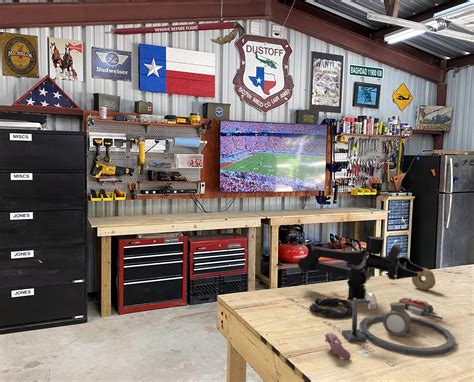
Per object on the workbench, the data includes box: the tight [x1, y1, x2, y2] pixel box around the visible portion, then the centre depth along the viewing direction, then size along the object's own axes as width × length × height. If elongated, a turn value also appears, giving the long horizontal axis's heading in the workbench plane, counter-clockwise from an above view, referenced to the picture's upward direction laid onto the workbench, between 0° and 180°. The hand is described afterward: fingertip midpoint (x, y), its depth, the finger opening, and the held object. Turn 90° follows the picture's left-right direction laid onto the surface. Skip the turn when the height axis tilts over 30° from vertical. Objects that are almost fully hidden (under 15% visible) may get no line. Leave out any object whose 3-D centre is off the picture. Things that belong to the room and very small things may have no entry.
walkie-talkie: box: [398, 297, 444, 321], centre depth 166 cm, size 9×4×20 cm
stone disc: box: [411, 267, 437, 291], centre depth 195 cm, size 10×4×10 cm, turn 46°
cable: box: [308, 297, 353, 319], centre depth 164 cm, size 17×14×4 cm
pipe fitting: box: [382, 301, 411, 337], centre depth 148 cm, size 12×8×10 cm
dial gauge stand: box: [341, 293, 378, 343], centre depth 140 cm, size 9×6×15 cm, turn 100°
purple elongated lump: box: [324, 331, 352, 360], centre depth 129 cm, size 10×5×7 cm, turn 5°
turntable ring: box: [358, 313, 456, 356], centre depth 144 cm, size 30×30×2 cm
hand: (420, 272), depth 164 cm, fingers open, 9 cm apart
